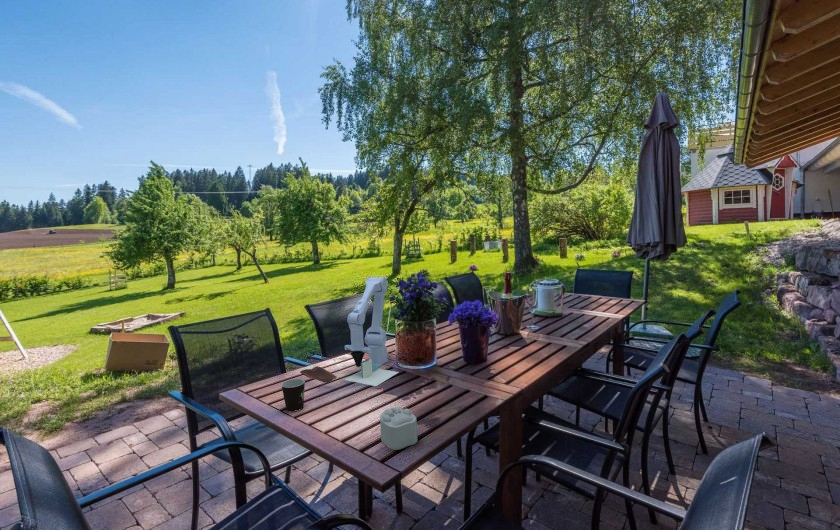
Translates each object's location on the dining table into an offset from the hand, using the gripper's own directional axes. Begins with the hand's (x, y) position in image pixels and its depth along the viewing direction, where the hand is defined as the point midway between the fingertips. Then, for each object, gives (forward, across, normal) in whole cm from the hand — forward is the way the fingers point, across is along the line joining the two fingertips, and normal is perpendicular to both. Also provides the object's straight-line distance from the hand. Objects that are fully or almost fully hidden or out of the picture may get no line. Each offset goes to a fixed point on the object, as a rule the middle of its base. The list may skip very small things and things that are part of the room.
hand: (358, 366), depth 181 cm
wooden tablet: (+5, -16, -8) cm, 19 cm away
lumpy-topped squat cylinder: (+5, +47, -38) cm, 60 cm away
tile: (+4, +5, 0) cm, 6 cm away
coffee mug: (+5, -1, -36) cm, 36 cm away
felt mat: (+4, +7, +1) cm, 8 cm away
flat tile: (+4, +2, +7) cm, 8 cm away
